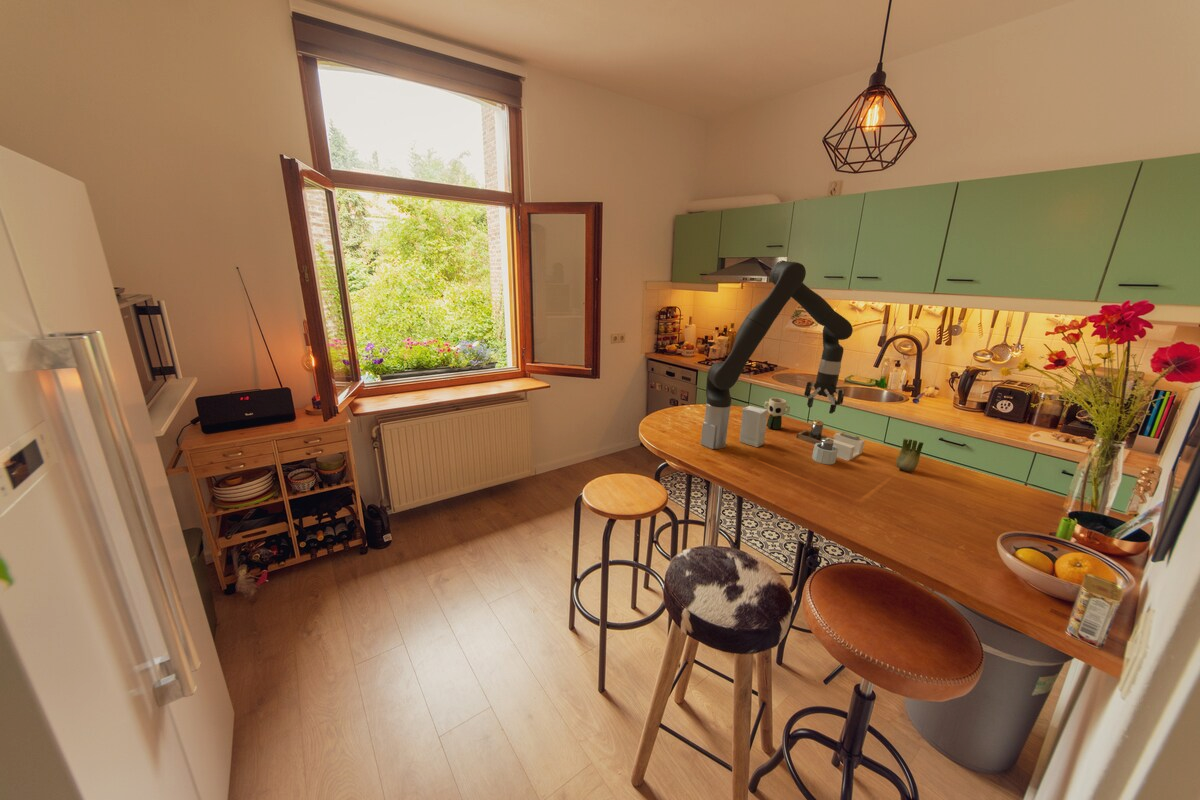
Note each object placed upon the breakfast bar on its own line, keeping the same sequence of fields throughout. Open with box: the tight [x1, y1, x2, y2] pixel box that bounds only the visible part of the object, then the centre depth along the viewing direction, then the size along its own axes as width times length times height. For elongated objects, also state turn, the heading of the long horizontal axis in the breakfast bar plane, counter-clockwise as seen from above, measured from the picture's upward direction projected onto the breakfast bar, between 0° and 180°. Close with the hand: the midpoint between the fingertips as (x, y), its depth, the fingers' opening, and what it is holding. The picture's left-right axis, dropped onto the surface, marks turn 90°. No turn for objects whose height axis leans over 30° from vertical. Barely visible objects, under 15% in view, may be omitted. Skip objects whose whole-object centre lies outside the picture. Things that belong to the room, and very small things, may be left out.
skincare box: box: [739, 405, 768, 448], centre depth 173 cm, size 8×6×15 cm
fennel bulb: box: [895, 438, 925, 473], centre depth 153 cm, size 6×5×12 cm
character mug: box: [763, 397, 791, 430], centre depth 190 cm, size 11×7×13 cm, turn 51°
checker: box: [829, 431, 865, 462], centre depth 166 cm, size 12×10×7 cm
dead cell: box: [820, 437, 834, 451], centre depth 158 cm, size 4×4×8 cm
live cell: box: [810, 420, 824, 441], centre depth 176 cm, size 4×4×8 cm
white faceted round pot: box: [811, 443, 838, 465], centre depth 159 cm, size 8×8×6 cm
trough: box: [796, 429, 833, 445], centre depth 177 cm, size 8×12×2 cm, turn 39°
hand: (820, 410), depth 173 cm, fingers open, 8 cm apart
